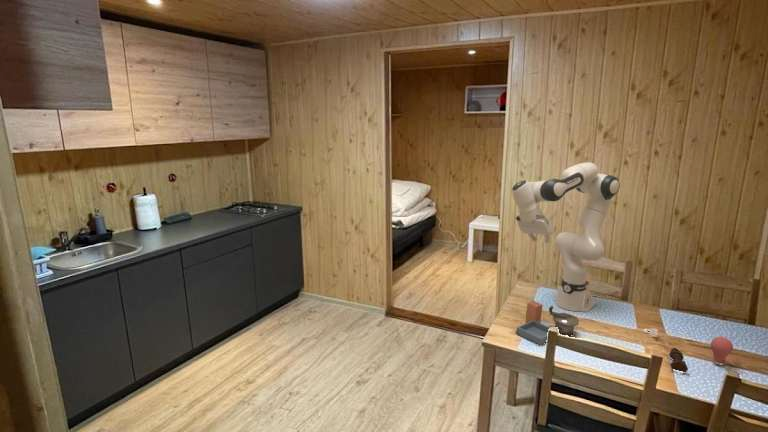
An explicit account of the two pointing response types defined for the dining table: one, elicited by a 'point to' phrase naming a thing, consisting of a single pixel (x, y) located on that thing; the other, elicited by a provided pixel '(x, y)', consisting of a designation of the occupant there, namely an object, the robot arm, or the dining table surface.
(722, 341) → the light bulb
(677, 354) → the brown shoe
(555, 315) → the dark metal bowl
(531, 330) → the tray
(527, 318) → the block
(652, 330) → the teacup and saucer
